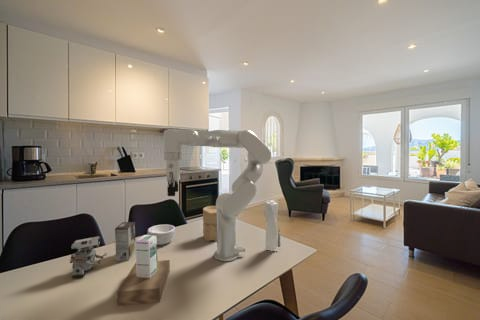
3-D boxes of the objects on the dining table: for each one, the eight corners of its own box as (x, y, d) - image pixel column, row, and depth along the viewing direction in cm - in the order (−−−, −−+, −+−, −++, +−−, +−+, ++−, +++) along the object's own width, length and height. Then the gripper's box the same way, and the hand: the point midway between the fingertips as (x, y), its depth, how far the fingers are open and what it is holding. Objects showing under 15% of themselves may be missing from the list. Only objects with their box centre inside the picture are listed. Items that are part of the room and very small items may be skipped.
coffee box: (123, 252, 116) (122, 221, 116) (136, 251, 117) (135, 221, 116) (115, 261, 107) (114, 228, 106) (129, 260, 108) (128, 227, 107)
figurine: (98, 276, 94) (97, 242, 93) (67, 279, 92) (66, 243, 92) (107, 265, 103) (106, 233, 102) (80, 267, 101) (78, 235, 101)
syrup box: (150, 278, 84) (149, 240, 84) (135, 277, 85) (135, 239, 84) (157, 270, 90) (157, 235, 89) (144, 269, 91) (143, 234, 90)
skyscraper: (278, 254, 115) (278, 200, 114) (263, 251, 118) (263, 199, 116) (280, 247, 123) (281, 197, 122) (266, 245, 126) (266, 196, 124)
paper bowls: (180, 240, 132) (180, 226, 132) (159, 249, 119) (159, 235, 119) (163, 234, 140) (163, 222, 140) (142, 243, 128) (141, 229, 127)
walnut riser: (169, 271, 99) (169, 260, 98) (159, 301, 79) (159, 288, 79) (136, 273, 97) (136, 262, 96) (117, 305, 77) (117, 291, 77)
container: (225, 240, 132) (225, 210, 131) (204, 242, 128) (204, 212, 127) (221, 232, 144) (221, 205, 143) (201, 234, 140) (201, 206, 139)
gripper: (178, 157, 94) (179, 197, 95) (183, 156, 111) (183, 190, 112) (160, 157, 93) (160, 198, 94) (167, 156, 110) (168, 190, 111)
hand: (173, 193), depth 103 cm, fingers open, 9 cm apart
